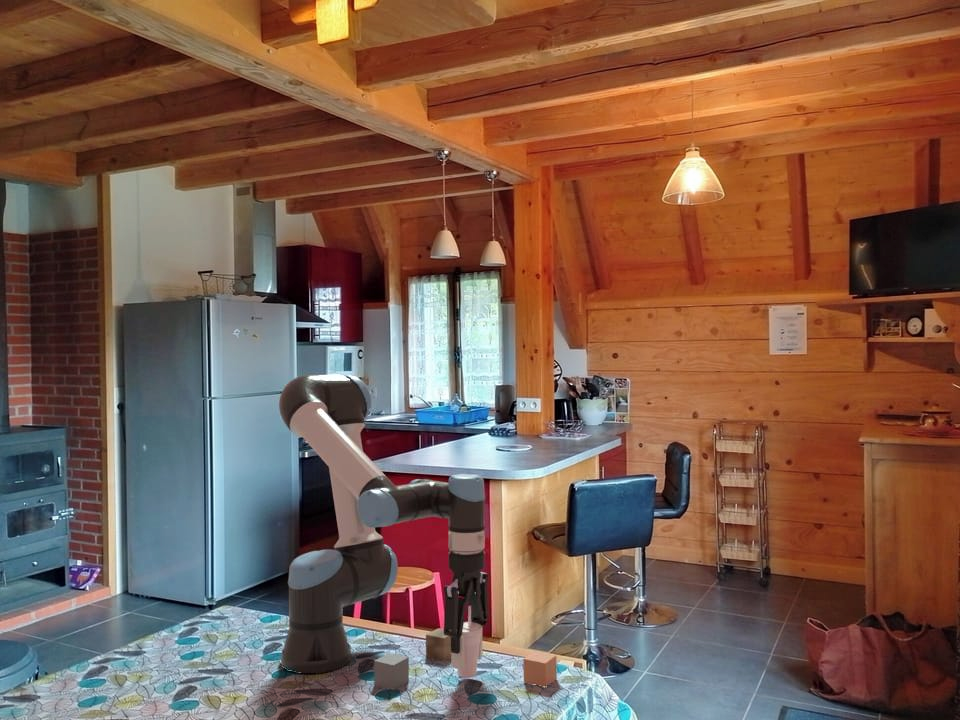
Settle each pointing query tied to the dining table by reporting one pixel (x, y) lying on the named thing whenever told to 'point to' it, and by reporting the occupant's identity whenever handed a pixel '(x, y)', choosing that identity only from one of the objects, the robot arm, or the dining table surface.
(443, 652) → the walnut block
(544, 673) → the terracotta block
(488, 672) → the dining table surface
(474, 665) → the smoothie
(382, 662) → the grey cube
